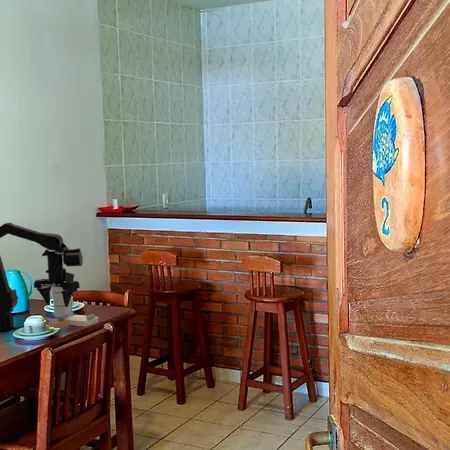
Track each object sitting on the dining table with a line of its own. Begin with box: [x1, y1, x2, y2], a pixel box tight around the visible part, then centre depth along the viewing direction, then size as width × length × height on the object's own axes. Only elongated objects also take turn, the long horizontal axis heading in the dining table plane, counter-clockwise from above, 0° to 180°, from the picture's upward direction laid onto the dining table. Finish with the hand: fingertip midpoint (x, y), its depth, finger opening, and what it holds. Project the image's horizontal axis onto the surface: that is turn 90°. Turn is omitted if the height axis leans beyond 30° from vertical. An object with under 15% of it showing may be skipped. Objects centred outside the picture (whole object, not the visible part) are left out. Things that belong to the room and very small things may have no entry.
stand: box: [65, 311, 99, 327], centre depth 252 cm, size 8×12×4 cm, turn 63°
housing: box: [47, 316, 69, 330], centre depth 245 cm, size 7×4×4 cm, turn 153°
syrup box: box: [51, 284, 73, 318], centre depth 265 cm, size 6×6×14 cm
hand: (57, 306), depth 245 cm, fingers open, 9 cm apart
